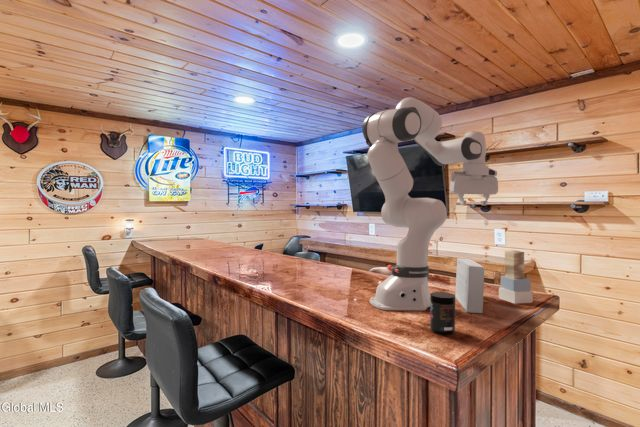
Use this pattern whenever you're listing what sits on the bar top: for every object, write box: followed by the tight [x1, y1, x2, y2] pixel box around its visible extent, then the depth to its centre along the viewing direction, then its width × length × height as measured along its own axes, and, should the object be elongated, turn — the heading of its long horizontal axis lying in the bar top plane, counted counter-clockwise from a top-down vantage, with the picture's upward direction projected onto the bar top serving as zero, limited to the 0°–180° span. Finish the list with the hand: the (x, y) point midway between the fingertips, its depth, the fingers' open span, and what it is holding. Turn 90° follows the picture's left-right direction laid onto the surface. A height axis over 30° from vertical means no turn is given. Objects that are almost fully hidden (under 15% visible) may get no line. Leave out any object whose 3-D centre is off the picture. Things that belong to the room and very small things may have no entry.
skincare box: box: [454, 257, 485, 314], centre depth 122 cm, size 21×5×16 cm, turn 168°
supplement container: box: [429, 291, 456, 336], centre depth 95 cm, size 7×7×10 cm
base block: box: [498, 286, 534, 305], centre depth 129 cm, size 8×8×4 cm
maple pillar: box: [504, 250, 525, 279], centre depth 129 cm, size 5×5×10 cm
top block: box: [500, 275, 531, 292], centre depth 129 cm, size 7×7×4 cm
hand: (473, 205), depth 139 cm, fingers open, 8 cm apart
